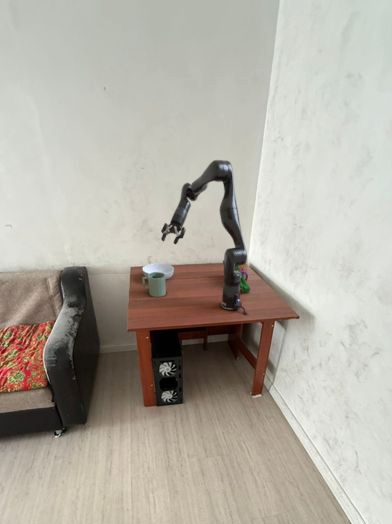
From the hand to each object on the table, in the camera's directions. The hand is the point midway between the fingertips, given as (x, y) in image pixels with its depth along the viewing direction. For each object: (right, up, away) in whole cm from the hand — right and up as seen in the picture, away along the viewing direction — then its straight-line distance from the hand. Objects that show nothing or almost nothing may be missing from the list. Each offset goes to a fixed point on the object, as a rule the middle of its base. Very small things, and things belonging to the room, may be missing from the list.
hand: (168, 242), depth 170 cm
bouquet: (+44, -20, +23) cm, 54 cm away
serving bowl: (-9, -15, +27) cm, 32 cm away
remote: (-8, -28, +8) cm, 30 cm away
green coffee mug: (-9, -28, +9) cm, 31 cm away
